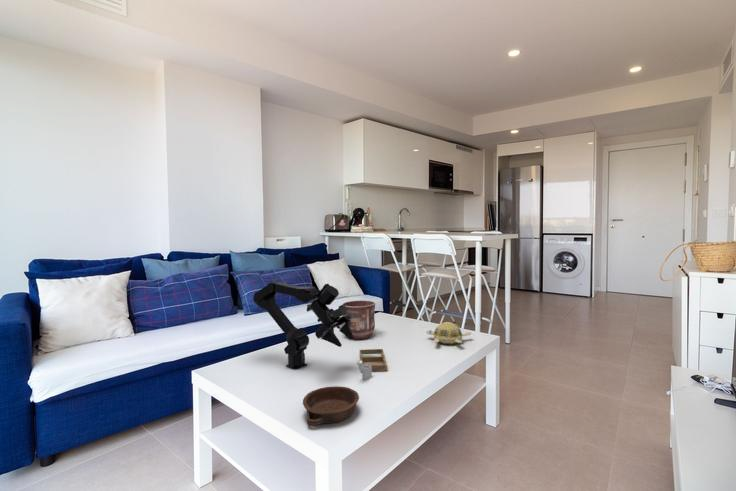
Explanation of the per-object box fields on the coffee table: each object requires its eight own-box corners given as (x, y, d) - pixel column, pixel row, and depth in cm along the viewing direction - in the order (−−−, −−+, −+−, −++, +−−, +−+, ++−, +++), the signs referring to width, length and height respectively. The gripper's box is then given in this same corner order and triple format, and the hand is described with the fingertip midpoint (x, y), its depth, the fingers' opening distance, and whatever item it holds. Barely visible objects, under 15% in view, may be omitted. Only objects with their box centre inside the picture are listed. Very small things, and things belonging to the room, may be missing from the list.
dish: (286, 422, 111) (285, 406, 111) (330, 393, 130) (329, 379, 130) (333, 438, 102) (332, 420, 102) (373, 404, 121) (372, 389, 121)
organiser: (387, 371, 148) (387, 365, 148) (360, 372, 148) (360, 366, 148) (382, 354, 169) (382, 348, 169) (359, 355, 168) (359, 349, 168)
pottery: (375, 341, 188) (375, 306, 188) (341, 341, 189) (340, 307, 188) (375, 332, 206) (375, 300, 205) (344, 332, 206) (343, 300, 206)
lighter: (368, 375, 145) (368, 355, 144) (372, 376, 144) (371, 356, 143) (357, 381, 139) (356, 360, 139) (360, 382, 138) (360, 361, 138)
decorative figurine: (458, 353, 168) (458, 331, 167) (415, 346, 179) (415, 326, 178) (474, 337, 190) (474, 318, 190) (435, 332, 201) (435, 314, 201)
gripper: (320, 303, 138) (346, 336, 133) (346, 295, 154) (370, 324, 149) (304, 322, 142) (329, 354, 137) (331, 312, 158) (354, 340, 154)
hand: (347, 342), depth 144 cm, fingers open, 9 cm apart
